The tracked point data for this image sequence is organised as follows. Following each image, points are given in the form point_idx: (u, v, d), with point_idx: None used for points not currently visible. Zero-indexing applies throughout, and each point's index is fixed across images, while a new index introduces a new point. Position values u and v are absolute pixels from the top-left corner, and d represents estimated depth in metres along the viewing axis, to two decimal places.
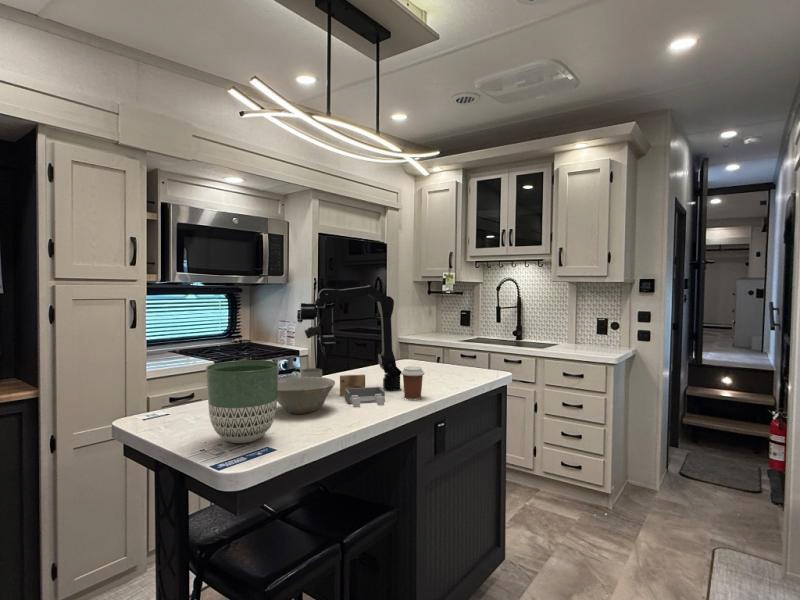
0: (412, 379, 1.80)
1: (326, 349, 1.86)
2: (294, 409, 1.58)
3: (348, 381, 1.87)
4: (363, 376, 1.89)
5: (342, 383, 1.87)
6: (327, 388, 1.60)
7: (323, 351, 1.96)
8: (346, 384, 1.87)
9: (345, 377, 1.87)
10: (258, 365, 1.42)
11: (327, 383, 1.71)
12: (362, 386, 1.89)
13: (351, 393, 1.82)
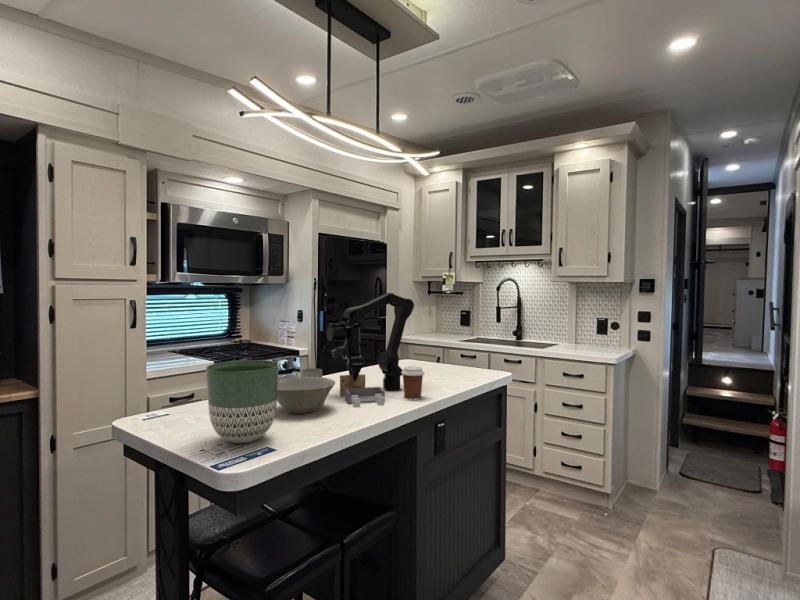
0: (412, 379, 1.80)
1: (354, 370, 1.83)
2: (294, 409, 1.58)
3: (348, 381, 1.87)
4: (363, 376, 1.89)
5: (342, 383, 1.87)
6: (327, 388, 1.60)
7: (349, 371, 1.93)
8: (346, 384, 1.87)
9: (345, 377, 1.87)
10: (257, 365, 1.42)
11: (327, 383, 1.71)
12: (362, 386, 1.89)
13: (351, 393, 1.82)
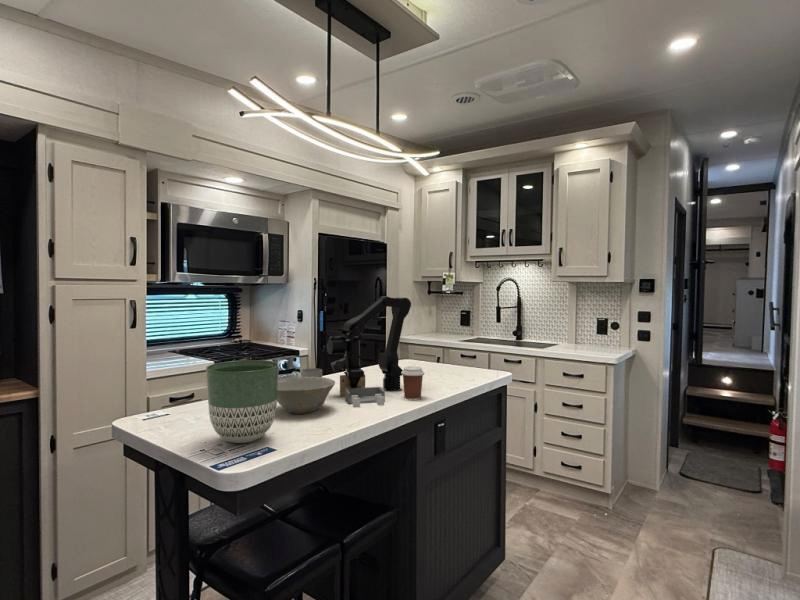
0: (412, 379, 1.80)
1: (352, 381, 1.86)
2: (294, 409, 1.58)
3: (348, 381, 1.87)
4: None
5: (342, 383, 1.87)
6: (327, 388, 1.60)
7: None
8: (346, 384, 1.87)
9: (345, 377, 1.87)
10: (257, 365, 1.42)
11: (327, 383, 1.71)
12: (362, 386, 1.89)
13: (351, 393, 1.82)
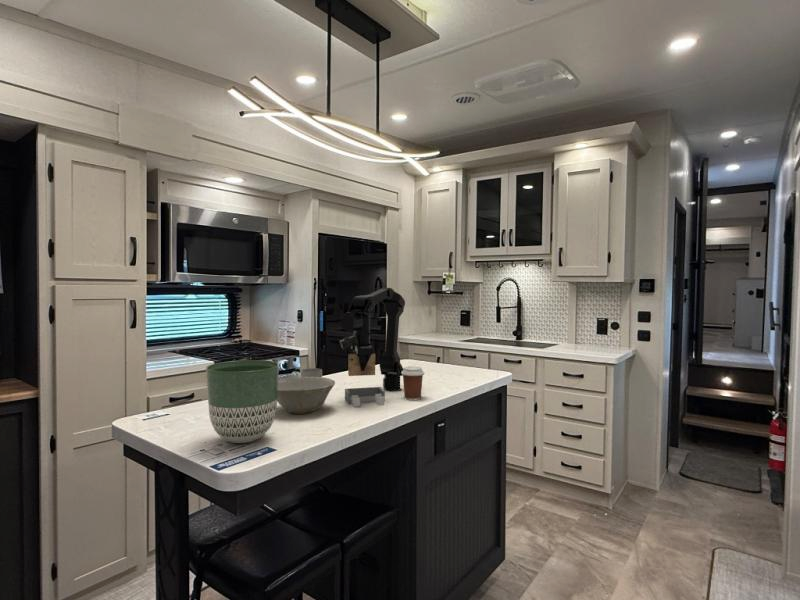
0: (412, 379, 1.80)
1: (362, 360, 1.76)
2: (294, 409, 1.58)
3: (357, 360, 1.77)
4: (373, 355, 1.78)
5: (351, 362, 1.76)
6: (327, 388, 1.60)
7: None
8: (354, 363, 1.76)
9: (354, 356, 1.76)
10: (258, 365, 1.42)
11: (327, 383, 1.71)
12: (372, 366, 1.78)
13: (351, 393, 1.82)
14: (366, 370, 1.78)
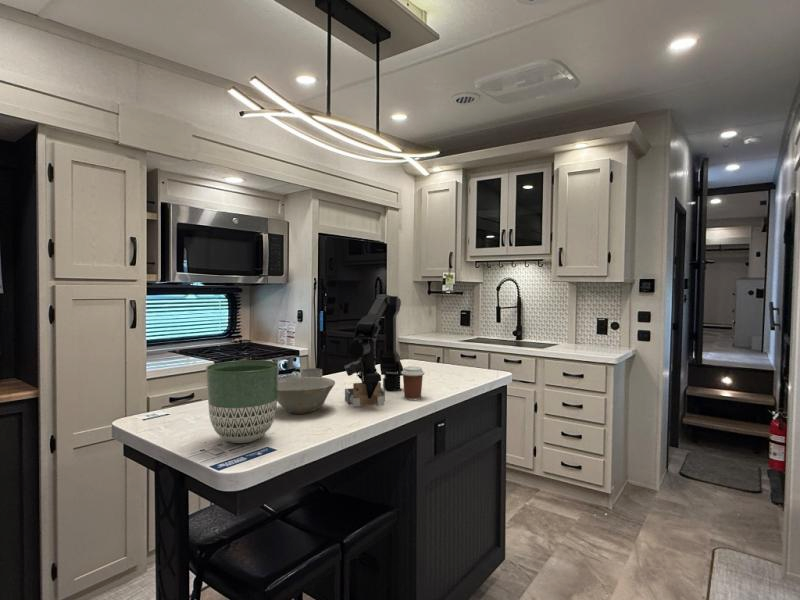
0: (412, 379, 1.80)
1: (369, 387, 1.70)
2: (294, 409, 1.58)
3: (362, 389, 1.73)
4: (378, 384, 1.74)
5: (356, 392, 1.72)
6: (327, 388, 1.60)
7: None
8: (360, 393, 1.73)
9: (359, 385, 1.72)
10: (258, 365, 1.42)
11: (327, 383, 1.71)
12: (377, 395, 1.74)
13: (351, 393, 1.82)
14: (372, 400, 1.74)
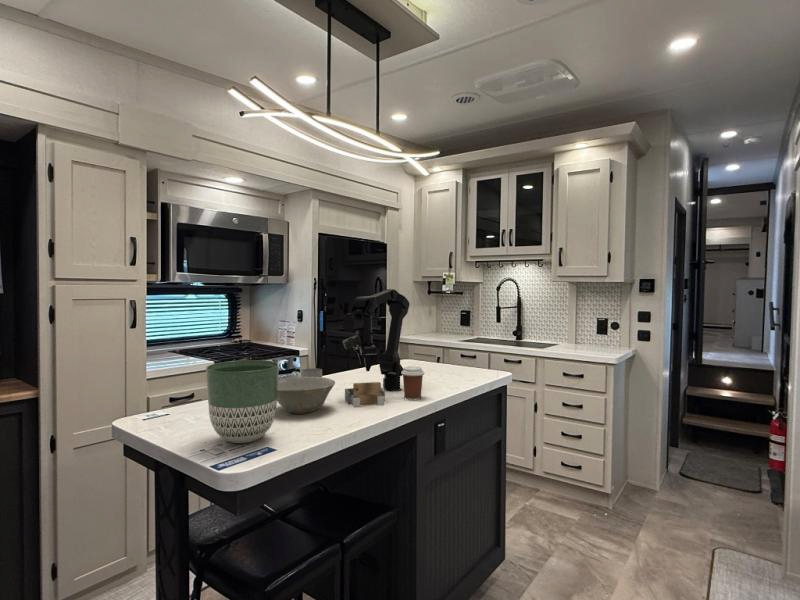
0: (412, 379, 1.80)
1: (367, 361, 1.77)
2: (294, 409, 1.58)
3: (362, 389, 1.73)
4: (378, 384, 1.74)
5: (356, 392, 1.72)
6: (327, 388, 1.60)
7: (361, 362, 1.87)
8: (360, 393, 1.73)
9: (359, 385, 1.72)
10: (257, 365, 1.42)
11: (327, 383, 1.71)
12: (377, 395, 1.74)
13: (351, 393, 1.82)
14: (372, 400, 1.74)
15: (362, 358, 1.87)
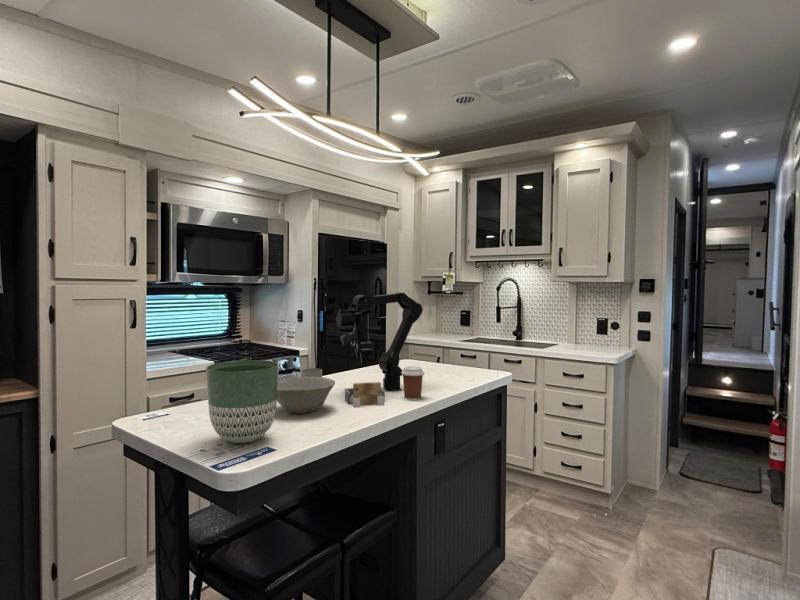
0: (412, 379, 1.80)
1: (363, 356, 1.86)
2: (294, 409, 1.58)
3: (362, 389, 1.73)
4: (378, 384, 1.74)
5: (356, 392, 1.72)
6: (327, 388, 1.60)
7: (358, 357, 1.96)
8: (360, 393, 1.73)
9: (359, 385, 1.72)
10: (257, 365, 1.42)
11: (327, 383, 1.71)
12: (377, 395, 1.74)
13: (351, 393, 1.82)
14: (372, 400, 1.74)
15: (359, 354, 1.96)
